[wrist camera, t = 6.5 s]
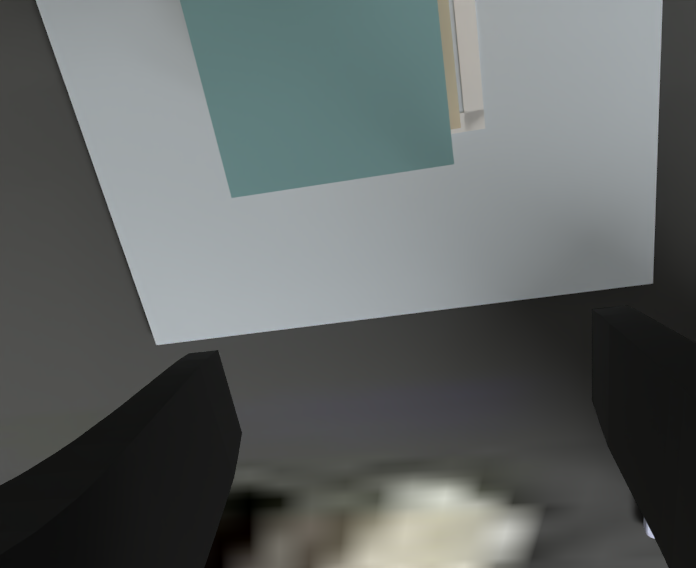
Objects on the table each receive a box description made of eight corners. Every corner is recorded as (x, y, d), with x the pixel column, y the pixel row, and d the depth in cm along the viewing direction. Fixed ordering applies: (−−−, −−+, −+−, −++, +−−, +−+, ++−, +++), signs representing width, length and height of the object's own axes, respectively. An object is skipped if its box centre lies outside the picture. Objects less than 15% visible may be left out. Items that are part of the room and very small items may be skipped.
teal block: (417, -82, 14) (427, -102, 10) (439, 121, 16) (454, 163, 12) (221, -43, 15) (167, -48, 11) (265, 149, 17) (231, 198, 13)
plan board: (666, -311, 15) (674, -319, 15) (648, 278, 22) (653, 284, 22) (-10, -151, 18) (-20, -155, 17) (160, 339, 25) (156, 345, 24)
